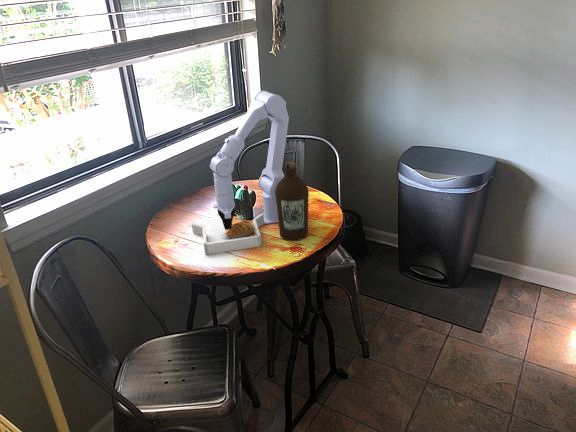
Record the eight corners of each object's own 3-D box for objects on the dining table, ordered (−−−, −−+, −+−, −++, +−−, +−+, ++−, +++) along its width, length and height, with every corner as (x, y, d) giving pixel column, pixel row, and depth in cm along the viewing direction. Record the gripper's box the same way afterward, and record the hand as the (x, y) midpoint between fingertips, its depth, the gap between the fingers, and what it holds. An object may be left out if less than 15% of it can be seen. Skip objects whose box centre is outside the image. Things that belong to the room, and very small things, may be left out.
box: (264, 222, 165) (263, 213, 163) (272, 244, 150) (271, 234, 149) (193, 232, 161) (191, 223, 159) (194, 256, 146) (192, 246, 145)
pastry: (235, 242, 153) (234, 232, 151) (222, 237, 157) (220, 227, 155) (256, 231, 159) (254, 221, 157) (242, 226, 163) (240, 216, 161)
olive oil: (277, 227, 160) (273, 158, 149) (308, 226, 161) (306, 156, 149) (278, 243, 151) (273, 170, 140) (311, 241, 151) (308, 168, 140)
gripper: (210, 185, 159) (214, 220, 165) (213, 202, 146) (217, 240, 152) (231, 182, 160) (234, 218, 166) (235, 199, 147) (239, 237, 153)
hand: (228, 228), depth 159 cm, fingers closed
